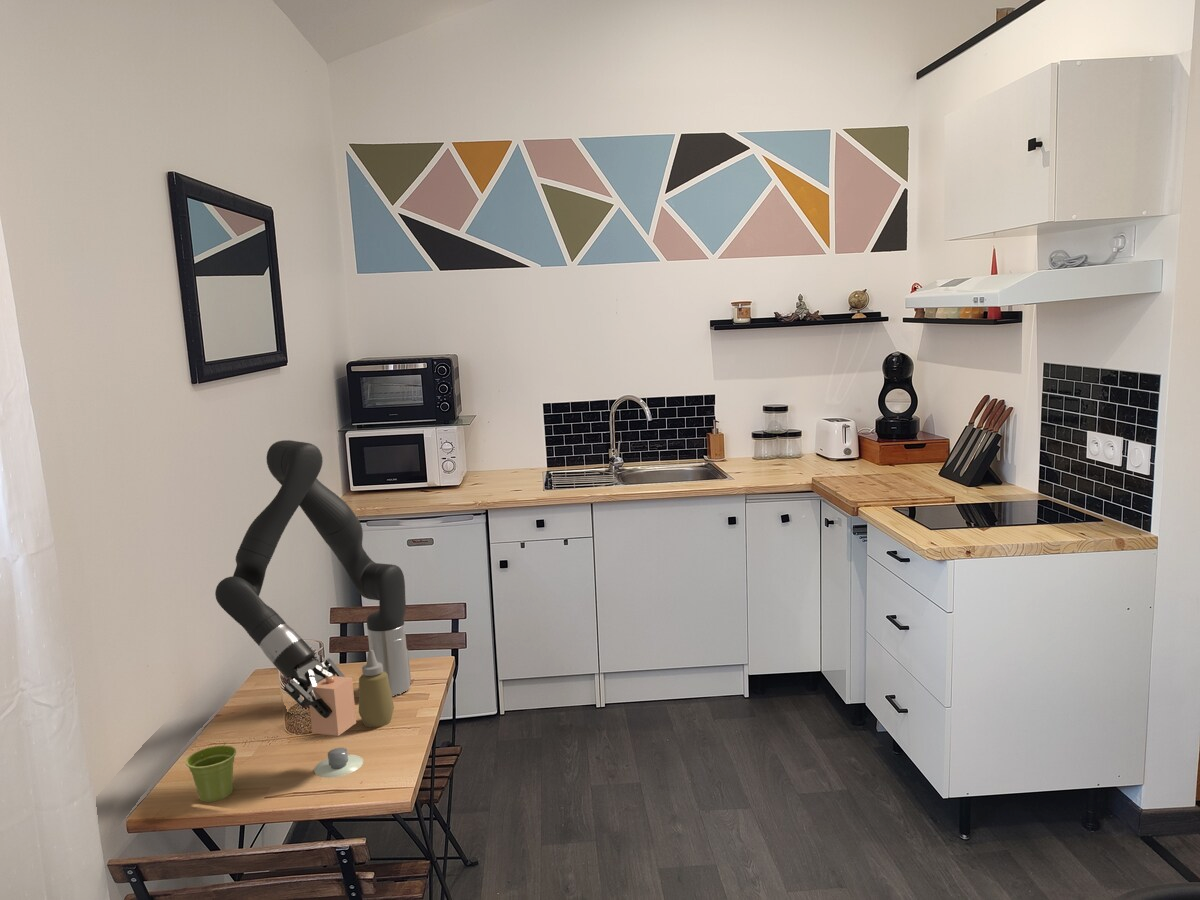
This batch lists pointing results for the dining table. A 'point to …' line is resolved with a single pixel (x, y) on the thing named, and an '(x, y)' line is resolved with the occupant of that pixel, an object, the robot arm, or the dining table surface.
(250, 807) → the dining table surface
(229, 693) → the dining table surface
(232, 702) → the dining table surface
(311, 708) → the peach rectangular block
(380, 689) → the squeeze bottle
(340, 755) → the grey rounded cylinder
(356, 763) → the plate
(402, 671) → the robot arm
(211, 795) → the plant pot
